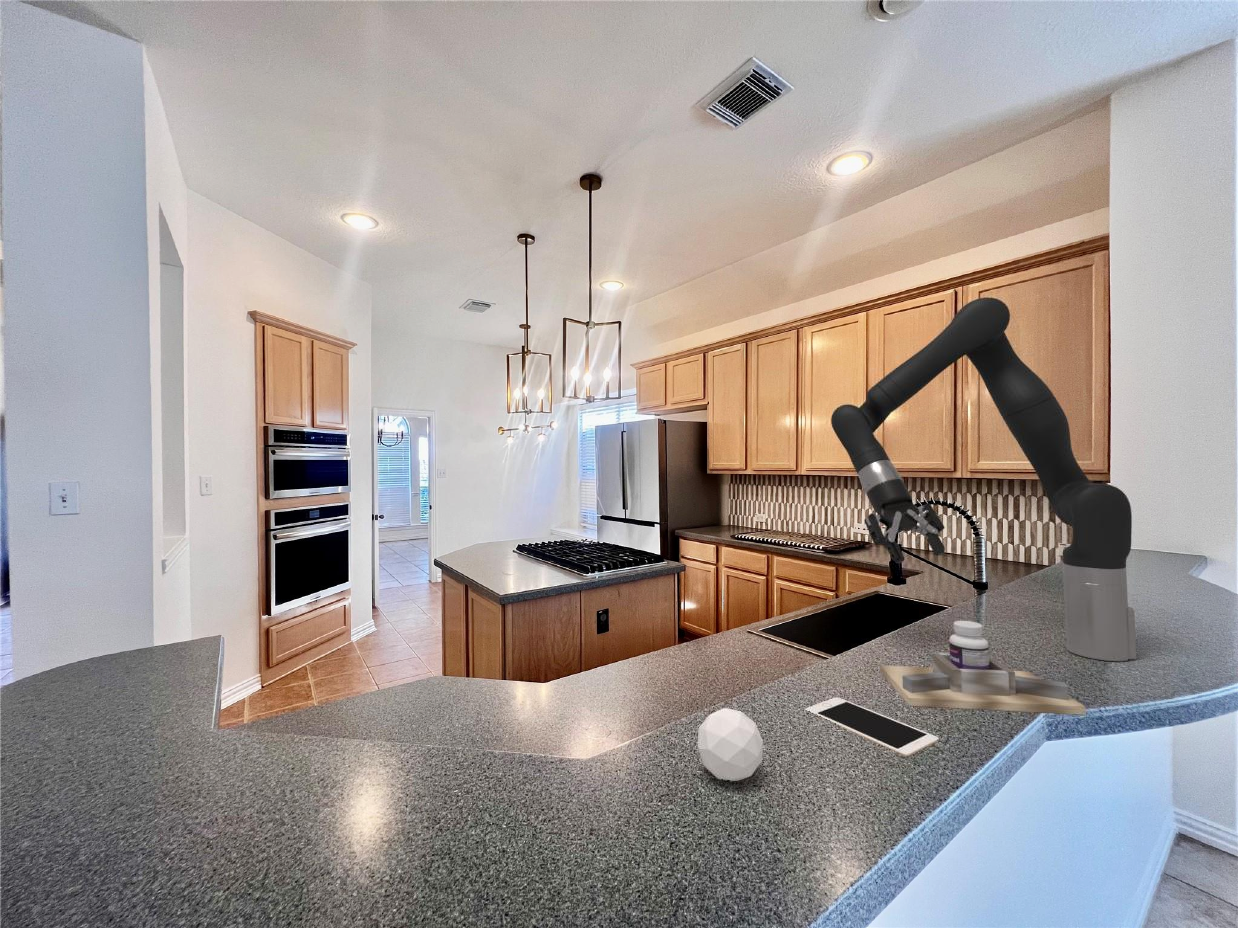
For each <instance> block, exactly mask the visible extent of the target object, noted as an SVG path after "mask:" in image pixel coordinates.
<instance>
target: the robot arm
mask: <svg viewBox="0 0 1238 928" xmlns="http://www.w3.org/2000/svg"><path fill="white" fill-rule="evenodd" d="M1010 320H1011V313H1010V309H1009V307H1008V306H1007V304H1006V303H1005V302H1003V301H1002V300H1001V299H998V298H995V297H980V298H976V299H974V300H971V301H969V302H968V303H966V304H965V305H963V306H962V307H961V308H960V309H959V310H958V311H957V312H956V313H955V315H954V317H953V318H952V319H951V322H950V323H949V324H948V325H947V326H946V327H945V328H944V330H942V331H941V332H940V333H939V334H938V335H936V337H935V338H933V339H932V341H930V342H929V343H928V344H926V345H925V346H924V347H923V348H922V349H920V350H919V351H918V352H917V353H915V354H913V355H912V356H910V357H909V358H908V359H906V360H905V361H904V362H903V363H901V364H899V365H898V366H897V367H896V368H894V369H893V370H892V371H890V372H889V373H888V374H886V375H885V376H883V378H882V379H880V380H878V381H877V382H876V383H875V384H874V385H873V386H872V387H871V388H870V389H869V390H868V391H867V392H866V394H865V395H866V397H865V399H866V400H865V401H864V402H863V403H862V404H861V405H860V406H859V407H858V406H856V405H853V404H849V403H848V404H842V405H839V407H837V408H835V409H834V410H833V413H832V415H831V418H830V423H831V427H832V429H833V431H834V433H835V435H836V437H837V439H838V440H839V442H840V443H841V445H842V446H843V448H844V449H845V450H846V452H847V455H848V457H849V459H850V461H851V464H852V466H853V468H854V469H855V471H856V474H857V476H858V478H859V482H860V484H861V487H862V488H863V491H864V493H865V495H866V496H867V498H868V500H869V503H870V505H871V506H872V509H873V512H875V513H876V514H874V513H869V514H868V515H867V516H866V517H865V518H864V520H863V521H864V524H865V526H866V528H867V530H868V531H867V532H868V533H869V536H870V538H871V540H872V543H873V545H875V546H879V545H880V546H884V547H885V548H886V551H887V552H888V554H889V555H890V556H889V557H890V558H891V559H892V561H893V562H895V563H896V564H901V563H903V562H904V561H905V556H904V554H903V552H902V550H901V549H900V546H899V545H898V543H897V541H895V539H896V536H897V534H899V533H902V532H910V531H914V533H916V534H920V535H922V536H923V537H925V538H926V540H927V542H928V545H929V547H930V548H931V550H932V552H933V554H934V555H935V556H936V557H938V556H939V557H940V556H941V555H943V554H945V550H946V548H945V545H944V543H943V541H942V540H941V538H940V535H939V533H940V532H943V530H944V529H945V525H944V524H943V522H942V521H941V518H940V517H939V515H938V514H937V513H936V510H934V508H933V506H932V505H931V504H930V503H925V504H924V505H921V506H918V507H917V506H916V505H915V504H914V503H913V498H912V495H911V493H910V492H909V489H908V488H907V486H906V485H905V483H904V480H903V478H902V477H901V475H900V473H899V471H898V469H897V468H896V467H895V465H894V464H893V462H891V459H890V458H889V455H888V454H887V452H886V450H885V448H884V447H883V445H882V444H881V443H880V441H878V439H877V438H876V437H875V434H874V432H876V431H877V429H879V427H881V425H882V424H883V423H884V422H885V421H886V420H887V418H888V417H889V416H890V415H891V414H892V413H893V412H895V411H896V410H898V408H900V407H901V406H903V404H905V403H906V402H907V401H909V400H910V399H911V398H913V397H914V396H916V395H917V394H918V392H920V391H921V390H922V389H924V388H925V387H926V386H927V385H928V384H930V382H932V381H933V380H934V379H935V378H936V377H938V376H939V375H940V374H941V373H943V372H944V371H945V370H947V368H949V367H950V366H951V365H953V364H954V363H956V362H957V361H959V359H961V358H963V357H965V356H966V357H967V358H968V360H969V361H970V363H971V364H972V365H973V366H974V367H975V370H976V371H977V372H978V374H979V375H980V378H981V379H982V380H983V383H984V385H985V388H986V390H987V392H988V394H989V396H990V397H991V399H992V401H993V403H994V405H995V406H996V409H997V410H998V413H999V415H1000V416H1001V417H1002V419H1003V421H1004V423H1005V424H1006V426H1007V428H1008V430H1009V431H1010V433H1011V434H1012V436H1013V438H1014V439H1015V441H1016V442H1017V444H1018V445H1019V447H1020V450H1022V452H1023V453H1024V456H1025V457H1026V459H1027V460H1028V462H1029V464H1030V465H1031V467H1032V468H1033V470H1034V471H1035V473H1036V475H1037V478H1038V479H1039V482H1040V484H1041V486H1042V488H1043V490H1044V493H1045V495H1046V497H1047V500H1048V502H1049V505H1050V507H1051V509H1052V511H1053V512H1054V515H1055V516H1056V517H1057V518H1058V519H1059V521H1061V522H1062V523H1064V524H1065V525H1067V526H1070V527H1072V541H1071V543H1070V545H1069V546H1067V547H1065V548H1064V549H1063V550H1062V577H1063V579H1062V580H1063V598H1064V600H1063V601H1064V620H1065V621H1064V622H1065V623H1064V624H1065V626H1064V627H1065V647H1066V650H1067V651H1068V652H1070V653H1072V654H1075V655H1077V656H1081V657H1084V658H1085V657H1086V658H1089V659H1094V660H1098V661H1099V660H1101V661H1108V662H1109V661H1110V662H1126V661H1129V660H1137V643H1136V641H1137V640H1136V624H1135V623H1136V620H1135V609H1134V608H1133V607H1131V606H1129V601H1128V597H1129V596H1128V581H1127V578H1128V577H1127V559H1128V558H1129V557H1128V556H1129V555H1130V553H1131V550H1132V531H1133V530H1132V527H1133V526H1132V524H1133V518H1132V517H1133V516H1132V506H1131V503H1130V500H1129V498H1128V496H1127V494H1125V493H1124V491H1122V490H1121V489H1120V488H1119V487H1117V486H1114V485H1112V484H1107V483H1099V482H1098V483H1096V482H1094V483H1092V482H1091V481H1090V479H1089V478H1088V477H1087V475H1086V473H1085V472H1084V470H1082V467H1080V465H1079V463H1078V461H1077V459H1076V458H1075V456H1074V453H1073V449H1072V442H1071V432H1070V430H1071V429H1070V425H1069V422H1068V417H1067V415H1066V413H1065V411H1064V410H1063V408H1062V406H1061V405H1060V403H1059V401H1058V399H1057V398H1056V396H1055V395H1054V393H1053V392H1052V390H1051V389H1050V388H1049V385H1047V384H1046V382H1044V381H1043V380H1042V378H1040V377H1039V375H1038V374H1037V373H1035V372H1034V371H1033V370H1032V369H1031V368H1030V367H1029V366H1028V365H1027V364H1025V363H1024V362H1023V361H1022V359H1021V358H1020V357H1019V356H1018V355H1017V353H1016V351H1015V350H1014V348H1013V347H1012V345H1011V342H1010V341H1009V339H1008V337H1007V334H1006V333H1005V331H1006V330H1007V328H1008V326H1009V323H1010ZM880 523H881V524H882V525H884V526H885V528H884V532H883V530H882V528H881V526H880ZM918 524H919V525H918ZM1128 659H1129V660H1128Z"/></svg>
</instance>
